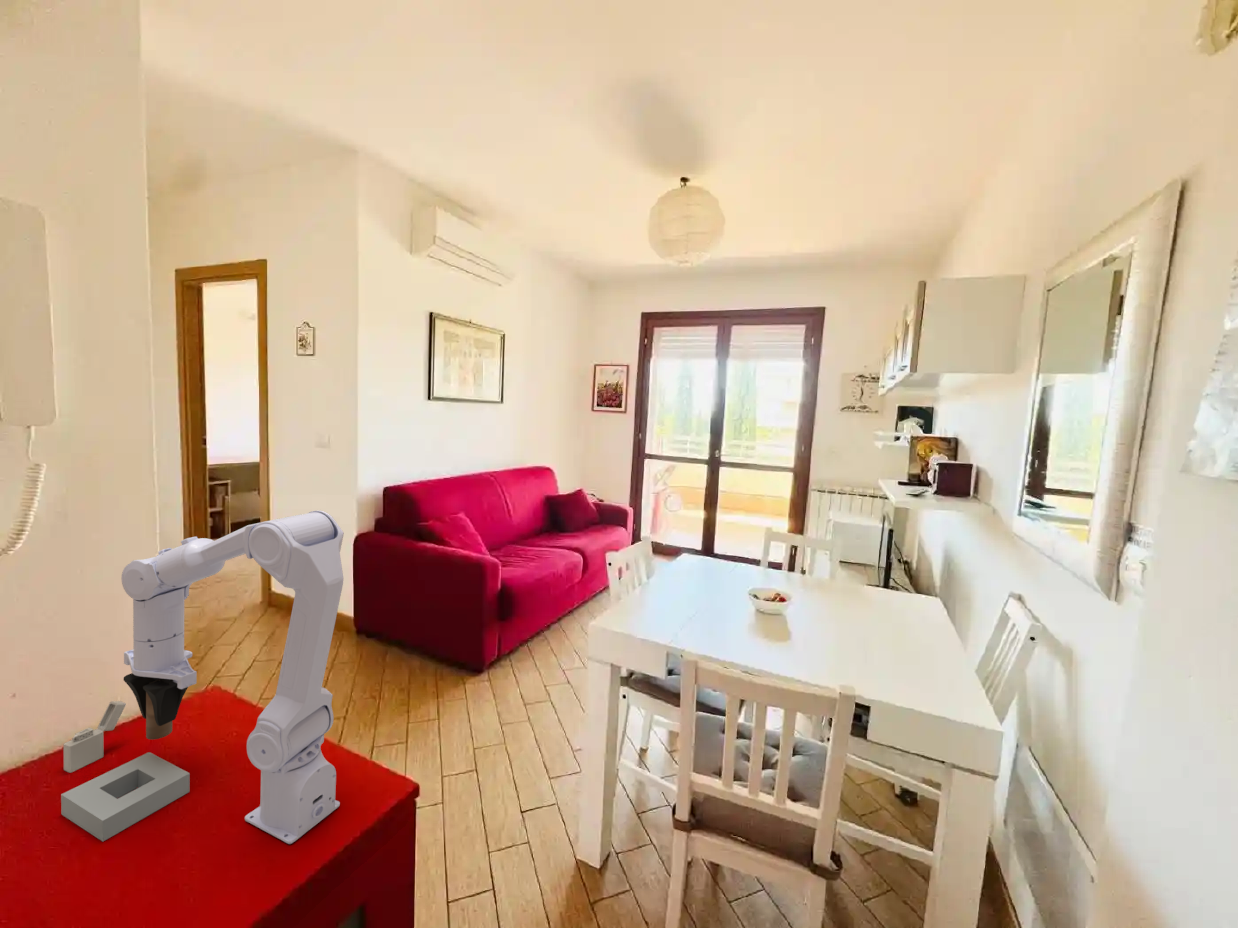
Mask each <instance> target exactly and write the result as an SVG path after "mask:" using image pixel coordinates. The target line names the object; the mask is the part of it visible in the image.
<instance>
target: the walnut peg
mask: <svg viewBox="0 0 1238 928" xmlns="http://www.w3.org/2000/svg"><path fill="white" fill-rule="evenodd" d="M156 681H158V680H156ZM159 681H160V680H159ZM153 682H155V681H153ZM153 682H151V683H153ZM149 684H150V683H149ZM172 732H173V721H171V722H168V723H166V724H164V725H162V726H159V725H157V723H156V721H155V717H154V710H153V705H152V702H151V699H150V697H149V695H148V694H147V692H146V719H145V734H146V735H145V738H146V739H148V740H151V741H152V740H153V741H154V740H158V739H162V738H165V737H167V736H169V735H170V734H172Z"/></svg>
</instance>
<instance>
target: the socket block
mask: <svg viewBox="0 0 1238 928" xmlns="http://www.w3.org/2000/svg"><path fill="white" fill-rule="evenodd" d="M190 775H191V774H190V772H188V771H186V770H185V769H182V768H180V767H179V766H176V765H175V764H173V763H172V762H169V761H167V760H165V759H163V758H161V757H159V756H157V755H156V754H154V753H152V752H150V751H149V752H146V753H144V754H142V755H140V756H137V757H136V758H134V759H132V760H130V761H128V762H125V763H123V764H121V765H119V766H117V767H115V768H113V769H111V770H108V771H106V772H105V773H103V774H100V775H99V776H97V777H94V778H93V779H91V780H88V781H86V782H84V783H81V784H80V785H78V786H76V787H73V788H71V789H69V790H67V791H65V792H63V793H61V794H60V803H61V804H60V805H61V811H60V812H61V815H62V817H65V819H67V820H70V821H71V822H72V823H73V824H75V825H77V826H78V827H80V828H81V829H83V830H84V831H85V832H87V833H89V834H90V835H92V836H94V837H95V838H97V839H98V840H99V841H101V842H104V841H106V840H108V839H110V838H111V837H113V836H115V835H117V834H119V833H120V832H123V831H124V830H125V829H127V828H129V827H131V826H132V825H134V824H136V823H138V822H139V821H141V820H144V819H145V818H147V817H148V816H150V815H152V814H154V813H155V812H157V811H159V810H161V809H162V808H164V807H166V806H167V805H169V804H171V803H172V802H174V801H176V800H177V799H180V798H182V797H183V796H185V795H186V794H188V793H190V786H191V785H190V782H191V781H190V779H191V778H190Z"/></svg>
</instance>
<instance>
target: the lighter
mask: <svg viewBox="0 0 1238 928" xmlns="http://www.w3.org/2000/svg"><path fill="white" fill-rule="evenodd" d="M126 704H127V703H126V702H123V701H121V700H116V701H115V700H113V701H112V700H111V701H110V702H109V704H108V706H107V707H106V709H105V711H104V713H103V716H102V717H101V720H100V721H99V723H98V726H97V728H96V729H94V728H91V727H87V728H84V729H83V730H80V731H78V732H76V733H74V735H73V737H72V738H71V739H70V740H67V741H66V742H64V743H63V771H65V772H67V773H73V772H76V771H77V770H80V769H82V768H84V767H86V766H87V765H89V764H92V763H94V762H96V761H98V760H100V759H102V758H104V754H105V753H104V732H110V731H113V730H115V727H116V726H117V725H118V722H119V720H120V718H121V715H122V713H123V712H124V709H125V707H126V706H127V705H126Z"/></svg>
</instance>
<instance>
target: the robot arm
mask: <svg viewBox="0 0 1238 928" xmlns="http://www.w3.org/2000/svg"><path fill="white" fill-rule="evenodd" d="M343 539H344V531H343V530H342V527H340V526H339V524H338V522H337V521H336V520H335V519H334V517H333V516H332V515H331V514H329V513H328V512H326V511H323V510H321V509H320V510H318V509H317V510H312V511H309V512H307V513H303V514H301V513H300V514H296V515H291V516H287V517H286V516H285V517H281V518H277V519H271V520H265V521H260V522H257V523H252V524H248V525H245V526H243V527H241V528H239V529H237V530H235V531H232V532H231V533H228V534H226V535H223V536H222V537H220V538H218V539H216V540H214V539H211V538H206V537H204V538H203V537H202V538H201V537H200V538H198V536H192V537H187V538H184V539H182V540H181V541H180V543H181V545H179V546H177V547H176V546H175V547H174V548H172V547H168V548H167V547H166V548H163V549H161V550H158V554H157V555H156V556H152V557H149V558H144V559H135V560H134V559H133V560H131V561H130V563H128V564H127V565H125V567H123V570H122V573H121V585H122V588H123V590H124V592H125V593H126V595H128V597H130V598H132V609H133V610H132V611H133V612H132V613H133V615H132V618H133V622H132V623H133V626H132V630H133V635H132V636H133V637H132V638H133V649H130V650H126V651H124V652H123V664H124V665H126V666H129V667H130V671H131V673H129V674H126V675H125V676H124V677H123V681H124V682H125V684H126V685H127V686H128V687H129V688H130V690H131V691H132V693H133V695H134V697H135V698H136V702H137V705H138V707H139V711H140V713H141V715H142V716H141V717H142V718H143V719H145V720H146V692H147V694H148V695H149V697H150V699H151V702H152V705H153V710H154V717H155V721H156V723H157V725H159V726H162V725H164V724H166V723H168V722H171V721H172V722H173V721H175V720H176V719H177V715H178V712H179V709H180V706H181V703H182V700H183V697H184V695H185V694H186V691H187V690H188V688H189V687H191V686H194V685H197V677H198V676H197V675H198V674H197V671H196V670H194V669H193V668H192V666H191V664H190V662H189V659H190V658H192V657H193V652H192V651H190V650H186V649H185V600H187V598H188V597H190V587H191V586H192V585H193V584H194V583H196V582H198V581H201V580H204V579H207V578H210V577H211V576H214V575H216V574H218V573H219V572H221V570H223V568H224V566H225V563H226V562H227V561H229V560H232V559H235V558H238V557H239V556H240V557H241V556H243V555H245V556H246V557H247V559H249V560H251V559H253V560H254V561H255V562H256V563H257V565H259V566H260V567H261V568H262V569H264V571H265V572H266V573H268V574H269V575H270V576H271V577H273V578H274V579H275V580H276V581H277V582H279V584H280V585H281V586H283V587H284V588H288V589H292V590H293V591H294V599H293V604H292V610H291V615H290V618H289V624H288V629H287V634H286V639H285V640H286V641H285V645H284V649H283V655H282V661H281V665H280V671H279V676H278V681H277V686H276V692H275V695H274V696H273V697H272V699H271V701H269V703H268V704H267V705H266V707H264V709H263V711H262V712H261V713H260V714H259V715H258V717H257V720H256V725H255V726H254V729H253V730H252V731H251V732H250V734H249V735H248V737H247V739H246V754H247V757H248V759H249V761H250V762H251V764H252V765H253V766H254V767H255V768H257V769H258V770H260V795H259V796H260V804H259V806H258V807H256V808H255V809H254V810H252V811H250V812H249V813H247V814H246V815H245V816H244V821H245V822H247V823H250V824H251V825H253V826H255V827H256V828H259V830H262V831H264V832H266V833H268V834H269V835H271V836H273V837H275V838H277V839H279V840H281V841H282V842H284V843H286V844H288V845H291V844H293V843H294V842H296V841H297V840H298V839H300V838H301V837H302V836H303V835H305V834H306V833H307V832H309V831H310V830H311V829H312V828H314V827H315V826H316V825H317V824H318V823H320V822H321V821H322V820H324V819H326V818H327V817H328V816H329V815H330V814H331V813H333V812H334V811H335V810H336V809H338V808H339V807H340V805H341V802H340V801H339V800H336V792H337V791H336V785H337V771H336V768H335V766H334V765H333V764H332V763H330V762H329V761H328V760H327V759H326V758H325V757H324V754H323V753H322V750H321V749H322V748H321V746H322V744H323V743H324V741H325V734H326V733H327V732H329V731H330V730H331V729H332V726H333V724H334V711H333V707H332V706H333V705H332V701H333V694H332V693H331V691H329V690H328V689H327V688H326V687H324V686H323V682H324V677H325V672H326V668H327V663H328V659H329V653H330V649H331V644H332V639H333V633H334V630H335V625H336V620H337V615H338V609H339V605H340V600H341V596H342V590H343V586H344V572H343V566H342V559H341V550H342V544H343V541H344V540H343ZM156 680H158V681H156ZM159 680H160V681H159ZM153 681H155V682H153ZM151 682H153V683H151ZM149 683H150V684H149Z"/></svg>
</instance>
